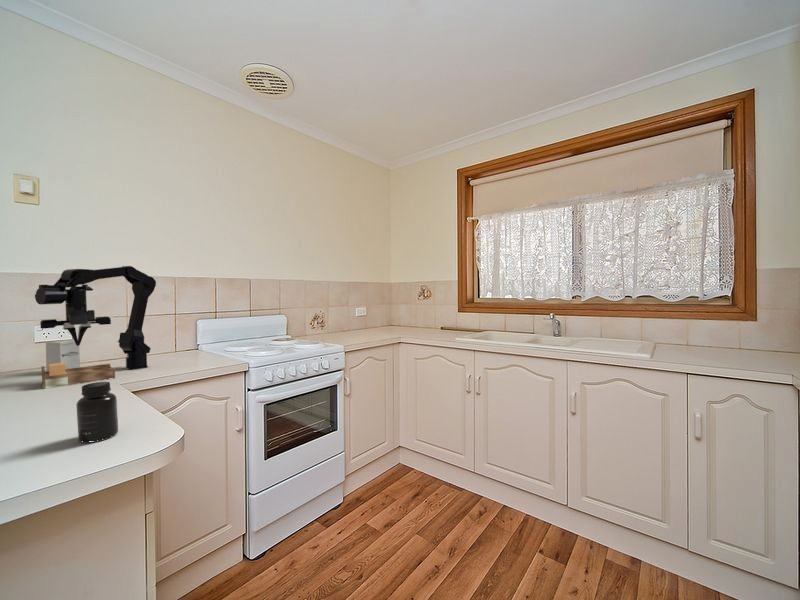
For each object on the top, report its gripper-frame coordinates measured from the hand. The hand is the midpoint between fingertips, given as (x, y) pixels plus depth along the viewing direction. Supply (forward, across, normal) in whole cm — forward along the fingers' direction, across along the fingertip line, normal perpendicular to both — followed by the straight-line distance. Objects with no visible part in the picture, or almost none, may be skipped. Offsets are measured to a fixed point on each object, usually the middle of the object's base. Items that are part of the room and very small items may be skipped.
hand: (78, 345), depth 129 cm
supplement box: (+13, -3, +23) cm, 27 cm away
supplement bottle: (+13, -3, -72) cm, 73 cm away
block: (+10, -6, -1) cm, 11 cm away
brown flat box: (+13, 0, -1) cm, 13 cm away
